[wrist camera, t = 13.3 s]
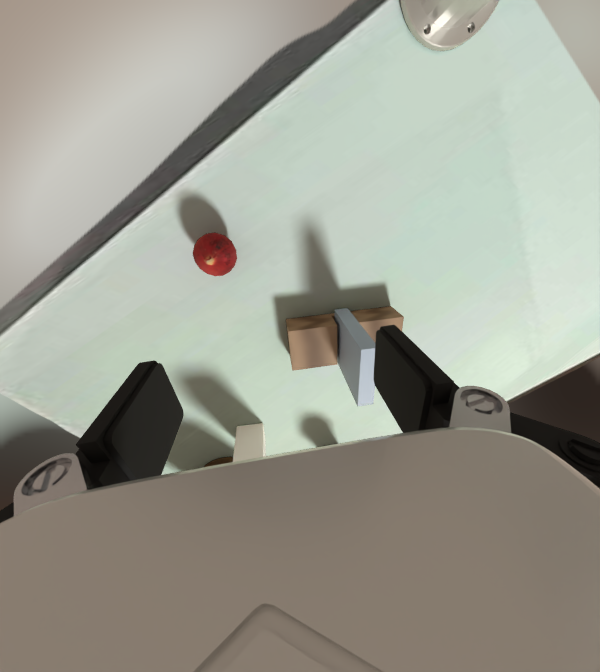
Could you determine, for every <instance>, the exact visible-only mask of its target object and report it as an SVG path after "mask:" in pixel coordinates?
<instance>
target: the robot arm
mask: <svg viewBox="0 0 600 672" xmlns="http://www.w3.org/2000/svg"><path fill="white" fill-rule="evenodd" d="M400 1H401V8H402V11H403V15H404V18H405V21H406V23H407V25H408V28H409V30H410V32H411V33H412V34H413V36H414V37H415V38H416V40H417V41H418V42H420V43H421V44H422V45H423V46H425V47H427V48H429V49H431V50H435V51H446V50H451V49H454V48H456V47H458V46H460V45H462V44H463V43H464V42H466V41H467V40H469V39H470V38H471V37H472V36H473V35H474V34H476V33H477V32H478V31H479V30H480V29H481V28H482V26H483V25H484V24H485V23H486V22H487V20H488V19H489V17H490V16H491V14H492V13H493V11H494V10H495V8H496V6H497V4H498V2H499V0H400ZM424 32H425V33H424ZM374 384H375V386H376V388H377V389H378V391H379V393H380V394H381V396H382V398H383V400H384V401H385V403H386V405H387V406H388V408H389V410H390V411H391V413H392V415H393V416H394V418H395V420H396V422H397V423H398V425H399V427H400V428H401V430H402V432H403V433H400V434H394V435H387V436H381V437H375V438H369V439H363V440H357V441H351V442H345V443H339V444H334V445H328V446H322V447H316V448H310V449H304V450H299V451H293V452H287V453H282V454H276V455H270V456H264V457H259V458H253V459H248V460H242V461H236V462H231V463H225V464H220V465H214V466H209V467H203V468H198V469H192V470H187V471H181V472H176V473H170V474H165V475H161V474H162V471H163V469H164V466H165V463H166V461H167V458H168V455H169V453H170V450H171V447H172V445H173V442H174V440H175V437H176V434H177V432H178V429H179V426H180V424H181V421H182V418H183V409H182V407H181V404H180V402H179V400H178V398H177V396H176V394H175V391H174V389H173V387H172V385H171V383H170V381H169V378H168V376H167V374H166V372H165V370H164V368H163V366H162V364H160V363H157V362H156V361H149V362H142V363H139V364H138V365H137V366H136V367H135V369H134V370H133V371H132V373H131V374H130V375H129V376H128V378H127V379H126V380H125V382H124V383H123V384H122V386H121V387H120V388H119V389H118V391H117V392H116V393H115V395H114V396H113V397H112V398H111V400H110V401H109V402H108V404H107V405H106V406H105V407H104V409H103V410H102V411H101V413H100V414H99V415H98V417H97V418H96V419H95V420H94V422H93V423H92V424H91V426H90V427H89V428H88V429H87V431H86V432H85V433H84V435H83V436H82V437H81V438H80V440H79V441H78V442H77V444H76V446H77V447H78V448H79V450H78V451H77V453H76V454H72V453H67V454H61V455H58V456H55V457H53V458H51V459H49V460H47V461H45V462H43V463H42V464H40V465H38V466H37V467H36V468H34V469H33V470H32V471H31V472H29V473H28V474H27V475H26V476H25V477H24V478H23V479H22V480H21V482H20V483H19V484H18V486H17V488H16V489H15V493H14V502H13V503H12V504H10V505H9V506H7V507H5V508H4V509H3V510H1V511H0V672H600V443H598V442H596V441H595V440H592V439H590V438H587V437H585V436H582V435H579V434H576V433H573V432H570V431H567V430H563V429H560V428H557V427H554V426H551V425H548V424H545V423H542V422H538V421H536V420H532V419H529V418H526V417H523V416H520V415H517V414H514V413H511V412H510V410H509V406H508V403H507V402H506V401H505V400H504V399H503V398H502V397H501V396H499V395H498V394H497V393H495V392H493V391H491V390H488V389H485V388H482V387H477V386H465V387H461V388H459V387H458V386H457V385H456V384H455V383H454V381H452V380H451V379H450V378H449V377H448V376H447V375H446V374H445V373H444V372H443V371H442V370H441V369H440V368H439V367H438V366H437V365H436V364H435V363H434V362H433V361H432V360H431V359H430V358H429V357H428V356H427V355H426V354H425V353H424V352H422V351H421V350H420V349H419V348H418V347H417V346H416V345H415V344H414V343H413V342H412V341H411V340H410V339H409V338H408V337H407V336H406V335H405V334H404V333H403V332H402V331H401V330H400V329H399V328H398V327H397V326H396V325H388V326H381V327H380V330H377V331H376V342H375V360H374Z"/></svg>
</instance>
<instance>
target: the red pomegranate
mask: <svg viewBox="0 0 600 672" xmlns="http://www.w3.org/2000/svg"><path fill="white" fill-rule="evenodd" d="M193 256H194V260H195V262H196V264H197V265H198V267H199V268H200V269H201V270H203V271H204V272H205V273H207V274H210V275H213V276H222V275H225V274H226V273H228V272H230V271H231V270H232V268H233V267H234V266H235V263H236V260H237V255H236V249H235V247H234V245H233V243H232V241H231V240H229V239H228V238H227V237H226V236H225V235H221V234H218V233H215V232H214V233H208V234H205V235H203V236H202V237H200V238H199V239H198V240H197V242H196V244H195V245H194V250H193Z"/></svg>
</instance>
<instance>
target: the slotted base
mask: <svg viewBox="0 0 600 672" xmlns="http://www.w3.org/2000/svg"><path fill="white" fill-rule="evenodd" d="M350 312H351V313H352V314H353V316H354V317H355V318H356V319H357V321H358V322H359V323H360V324H361V326H362V327H363V328H364V330H365V331H366V332H367V333H368V335H369V336H370V337H371V338H372V340H373V341H374V342H376V331H377V330H380V327H381V326H388V325H396V326H397V327H398V328H399V329H400V330H401V331H402V326H403V319H404V317H403V316H402V315H401V314H400V313H398V312H397V311H396V310H395V309H394V308H392V307H391V306H388V307H380V308H372V309H364V310H356V311H350ZM286 325H287V334H288V342H289V351H290V358H291V364H292V370H300V369H307V368H314V367H321V366H328V365H336V364H337V324H336V323H335V313H332V314H324V315H316V316H308V317H299V318H291V319H286Z"/></svg>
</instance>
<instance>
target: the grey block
mask: <svg viewBox="0 0 600 672" xmlns="http://www.w3.org/2000/svg"><path fill="white" fill-rule="evenodd" d="M335 323H336V324H337V362H338V365H339V367H340V369H341V371H342V373H343V375H344V378H345V380H346V382H347V384H348V386H349V388H350V391H351V393H352V395H353V397H354V399H355V401H356V404H357V406H363V405H370V404H373V400H374V391H375V384H374V360H375V342H374V341H373V340H372V338H371V337H370V336H369V335H368V333H367V332H366V331H365V330H364V328H363V327H362V326H361V324H360V323H359V322H358V321H357V319H356V318H355V317H354V316H353V314H352V313H351V312H350V311H349V309H348V308H344V309H335Z"/></svg>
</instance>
